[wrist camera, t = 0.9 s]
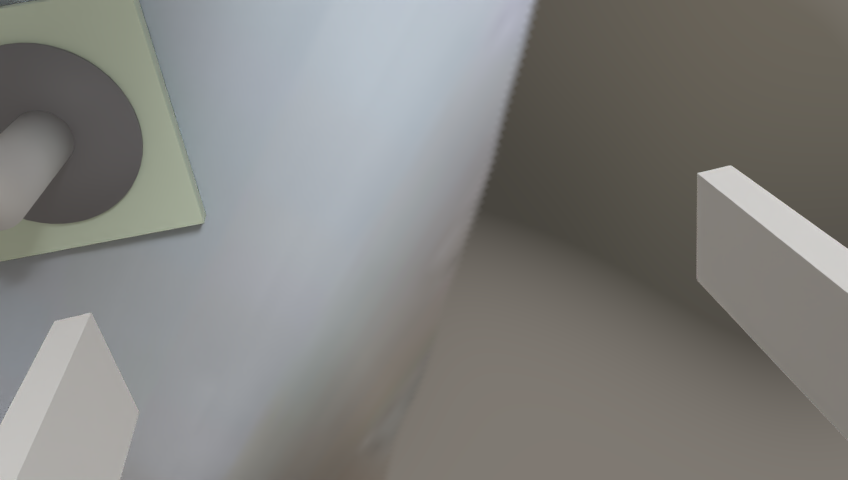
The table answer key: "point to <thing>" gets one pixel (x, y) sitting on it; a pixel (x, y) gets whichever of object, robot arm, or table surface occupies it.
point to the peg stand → (86, 130)
